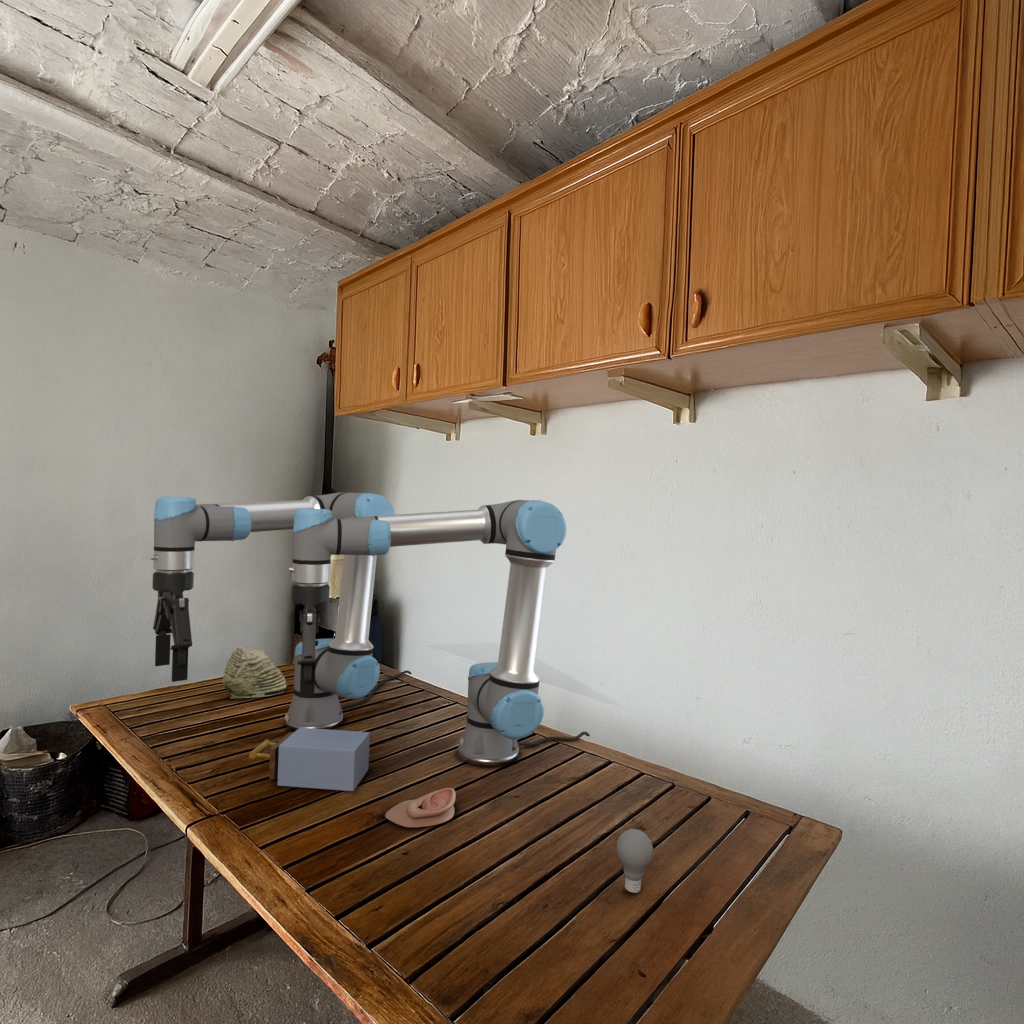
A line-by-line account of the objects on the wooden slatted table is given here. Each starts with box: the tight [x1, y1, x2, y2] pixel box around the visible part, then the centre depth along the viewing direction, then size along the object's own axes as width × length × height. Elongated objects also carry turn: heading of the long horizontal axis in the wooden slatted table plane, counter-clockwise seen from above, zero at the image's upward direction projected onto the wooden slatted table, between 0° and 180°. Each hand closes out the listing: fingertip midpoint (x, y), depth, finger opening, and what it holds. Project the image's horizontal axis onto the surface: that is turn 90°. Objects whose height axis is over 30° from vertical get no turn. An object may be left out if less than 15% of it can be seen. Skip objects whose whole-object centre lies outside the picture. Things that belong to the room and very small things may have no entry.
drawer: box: [248, 731, 295, 780], centre depth 143 cm, size 21×10×7 cm, turn 86°
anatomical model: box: [384, 787, 457, 828], centre depth 128 cm, size 13×4×12 cm
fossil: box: [222, 646, 288, 699], centre depth 198 cm, size 9×18×15 cm, turn 132°
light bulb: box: [615, 828, 654, 894], centre depth 106 cm, size 6×6×10 cm
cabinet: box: [277, 728, 371, 792], centre depth 143 cm, size 17×11×9 cm, turn 86°
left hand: (170, 672), depth 132 cm, fingers open, 13 cm apart
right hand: (307, 686), depth 130 cm, fingers open, 13 cm apart
